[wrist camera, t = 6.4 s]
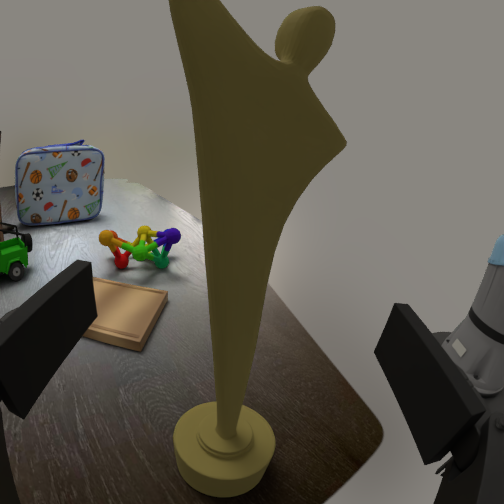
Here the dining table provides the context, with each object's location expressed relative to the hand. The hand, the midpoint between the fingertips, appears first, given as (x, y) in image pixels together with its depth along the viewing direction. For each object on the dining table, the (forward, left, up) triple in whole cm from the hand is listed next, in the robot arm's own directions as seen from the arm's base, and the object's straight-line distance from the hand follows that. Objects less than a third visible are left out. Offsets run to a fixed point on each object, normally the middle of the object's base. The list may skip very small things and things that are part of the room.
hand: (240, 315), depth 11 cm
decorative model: (+18, -35, -16) cm, 43 cm away
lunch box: (+51, -53, -16) cm, 75 cm away
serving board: (+17, -19, -16) cm, 30 cm away
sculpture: (0, -1, -16) cm, 16 cm away
